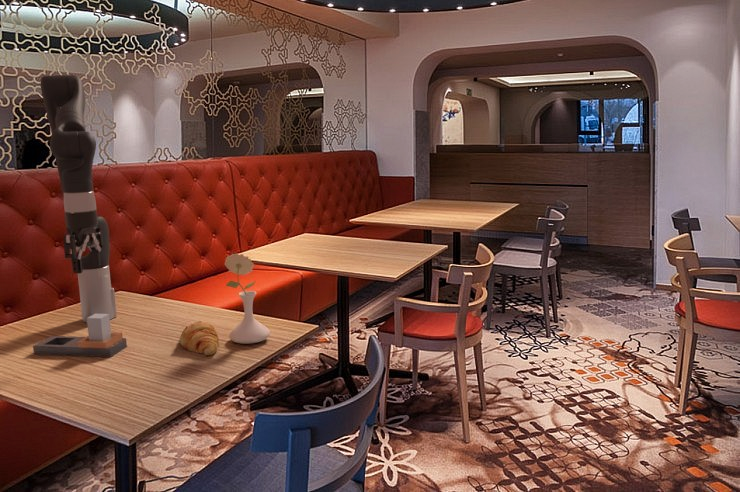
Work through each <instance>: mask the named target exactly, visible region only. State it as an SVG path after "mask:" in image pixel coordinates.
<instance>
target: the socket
mask: <svg viewBox="0 0 740 492" xmlns="http://www.w3.org/2000/svg"><path fill="white" fill-rule="evenodd" d="M127 347H128V344H127V338H126V337H123V332H111V337H110V338H108V339H107V340H105V341H89V335H87V336H72V335H71V336H69V335H67V336H65V335H64V336H63V335H62V336H61V335H52V336H50V337H47V338H45V339H43V340H42V341H40V342H37V343H35V344H34V345H32V349H33V350H32V351H33V355H34V356H63V357H64V356H65V357H66V356H67V357H88V358H89V357H90V358H91V357H93V358H95V357H96V358H112V357H114V356H115V355H117V354H118V353H120V352H122V351H123V350H124V349H126V348H127Z"/></svg>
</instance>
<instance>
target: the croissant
mask: <svg viewBox="0 0 740 492" xmlns="http://www.w3.org/2000/svg"><path fill="white" fill-rule="evenodd" d="M179 343H180V346H182V348H184V349H186V350H188V351H189V352H194V353H197V354H201V355H205V356H212V355H213V354H215V353H216V352H217V351H218V349H219V346H220V338H219V335H218V333H217V331H216V329H215V327H214V326H212V325H211V324H209V323H207V322H203V321H197V322H194V323H191V324H189V325H188V326H185V328H184V329H183V331H182V332H181V335H180V337H179Z"/></svg>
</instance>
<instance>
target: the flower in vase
mask: <svg viewBox="0 0 740 492" xmlns="http://www.w3.org/2000/svg"><path fill="white" fill-rule="evenodd" d="M224 261H225V262H224V265H225V267H226V269H228V271H229V272H230V273H232V274H236V275H237V277H236V281H235V280H229V281H228V282H227V283H226V285H225V287H229V288H232V289H233V288H234V289H237V288H238V287H240V289H241V290H242V291H240V292H238V297H240V298H241V301H242V304H243V311H244V316H243V319H242V321H241V322H239V323H238V324H237V325H236V326H235V327H234V328H233V329H232V330H231V331H230V332H229V334H228V337H229V339H230V341H232V342H235V343H237V344H244V345H245V344H247V345H248V344H256V343H260V342H262V341H265V340H266V339H268V338H269V337H270V336H271V332H270V329H268V328H267V327H266V326H265V325H264V324H262V323H260V322H259V321H258V320H257V319H255V317H254V314H253V307H254V306H253V304H254V303H253V302H254V299H255V296H256V295H257V292H256V291H255V290H253V291H252V290H248V289H249V288H251V287H253V286H254V284H255V283H256V281H252V282H250V283H248V284H247V285H245V287H244V288H243V286H242V284H241V283H240V280H239V276H240V275H241V276H245V275H248V274H249V273H253V270H254V267H255V265H254V262H252V259H251V258H249V256H247V255H246V256H245V255H244V253H236V252H235V253H232V254H230V255H227V257H225V260H224ZM246 289H247V290H246Z"/></svg>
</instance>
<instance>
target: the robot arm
mask: <svg viewBox="0 0 740 492" xmlns="http://www.w3.org/2000/svg"><path fill="white" fill-rule="evenodd" d="M40 89H41V95H42V100H43V104H44V107H45V112H46V115H47V116H46V117H47V119H48V124H49V127H50V132H51V136H50V140H49V148H50V149H49V150H50V152H51V153H52V155H53V156H54V157H55V161H56V167H57V168H56V169H57V172H58V177H59V180H60V181H59V182H60V186H61V193H62V198H63V199H62V200H63V207H64V208H63V209H64V219H65V220H64V221H65V222H64V223H65V229H66V230H65V231H66V234H64V235H63V236H62V237H63V240H62V241H63V249H64V258H65V259H70V260H71V265H72V266H71V267H72V272H73V273H74V274H77V279H78V281H77V282H78V290H79V299H80V301H79V302H80V309H81V318H82V322H84V323H86V324H87V318H88V317H90V316H92V315H94V314H109V318H110V320H112V319H114V318H117V317H118V315H117V305H116V304H117V303H116V296H115V295H116V294H115V289H114V287H112V283H111V272H110V262H109V261H110V254H111V249H110V229H109V225H108V222H107V220H106V218H105V217H103V216H99V215H98V211H97V202H96V197H95V196H96V195H95V192H94V183H93V165H94V164H93V163H94V159H95V154H96V150H97V149H96V148H97V141H96V139H95V136H94V135H93V134H92V133H91V132H89V131H87V129H86V125H85V117H84V116H85V108H86V93H85V88H84V84H83V82H82V79H81V78H80V77H79V76H77V75H76V74H75V75H74V74H59V75H57V74H55V75H44V76H42V77H41V79H40ZM86 248H88V250H89V251H88V253H87V254H86V255H83V253H84V252H85V251H86ZM82 255H83V256H82Z"/></svg>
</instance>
